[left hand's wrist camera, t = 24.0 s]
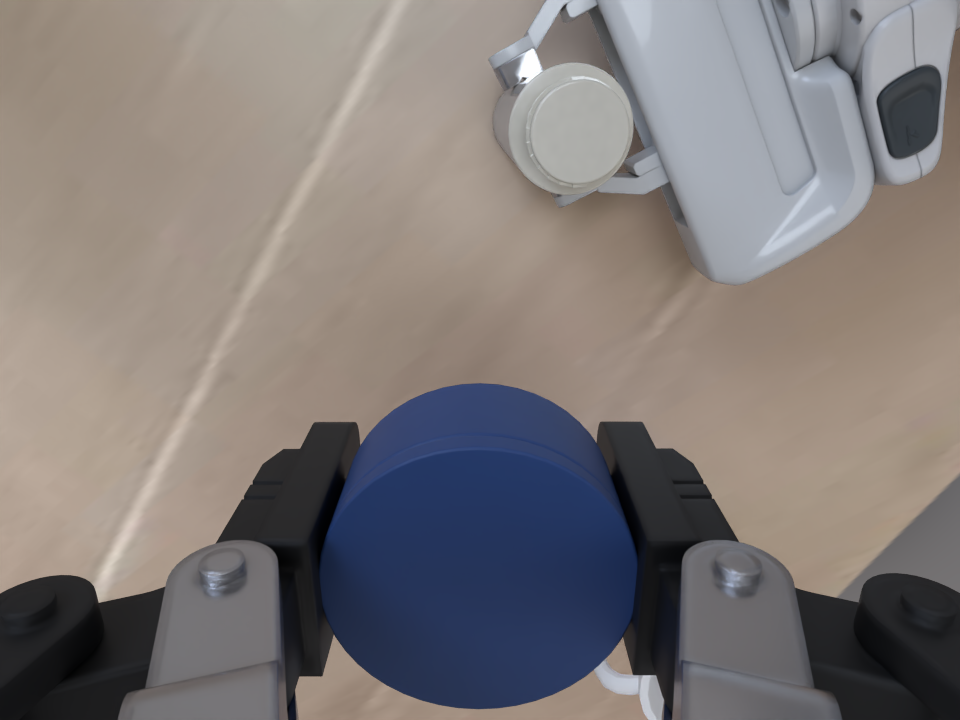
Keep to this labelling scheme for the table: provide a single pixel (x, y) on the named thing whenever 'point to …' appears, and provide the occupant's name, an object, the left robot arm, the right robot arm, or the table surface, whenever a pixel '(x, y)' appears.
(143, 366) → the table surface
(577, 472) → the lid
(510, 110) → the beige cylinder
